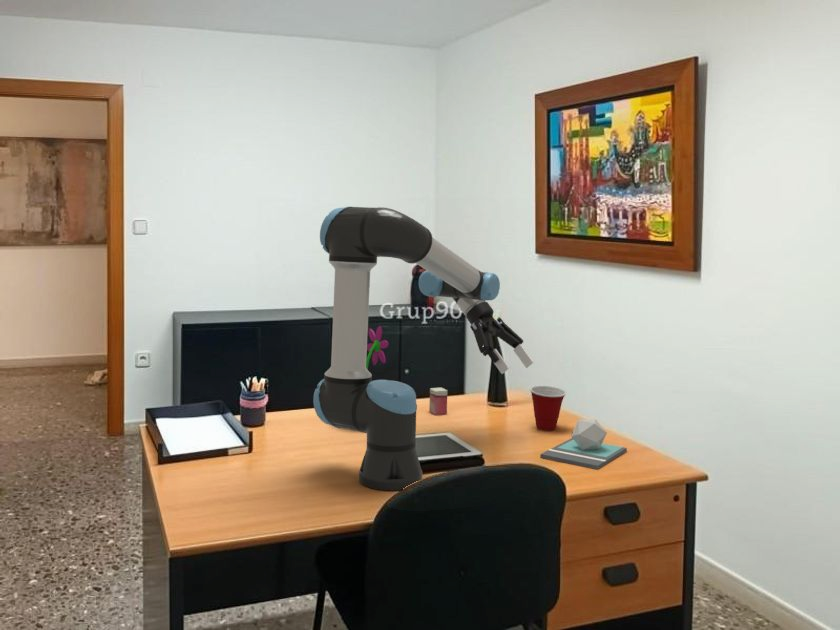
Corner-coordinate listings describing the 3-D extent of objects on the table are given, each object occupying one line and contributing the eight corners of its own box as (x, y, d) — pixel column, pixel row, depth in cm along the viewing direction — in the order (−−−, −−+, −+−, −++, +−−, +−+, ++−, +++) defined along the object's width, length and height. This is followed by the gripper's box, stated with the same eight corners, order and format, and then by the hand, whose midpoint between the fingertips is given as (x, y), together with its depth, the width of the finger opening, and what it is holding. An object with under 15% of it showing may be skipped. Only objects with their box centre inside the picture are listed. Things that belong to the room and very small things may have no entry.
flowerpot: (398, 427, 242) (399, 327, 238) (356, 433, 234) (357, 331, 230) (373, 416, 253) (374, 322, 250) (332, 422, 245) (333, 324, 242)
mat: (597, 469, 204) (597, 465, 204) (540, 457, 213) (540, 453, 213) (626, 451, 221) (626, 447, 220) (572, 441, 230) (572, 437, 230)
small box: (428, 411, 261) (429, 387, 260) (441, 410, 263) (441, 387, 262) (434, 415, 256) (435, 391, 255) (447, 414, 258) (447, 390, 257)
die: (602, 457, 214) (615, 425, 217) (574, 441, 213) (588, 409, 216) (589, 459, 221) (602, 428, 225) (562, 443, 221) (576, 413, 224)
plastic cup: (549, 435, 235) (550, 395, 234) (521, 427, 244) (522, 388, 242) (572, 429, 243) (574, 390, 241) (544, 422, 251) (545, 384, 249)
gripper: (490, 313, 244) (530, 370, 236) (442, 319, 224) (485, 381, 217) (506, 298, 240) (548, 355, 233) (459, 302, 220) (503, 365, 213)
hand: (518, 368), depth 225 cm, fingers open, 13 cm apart
